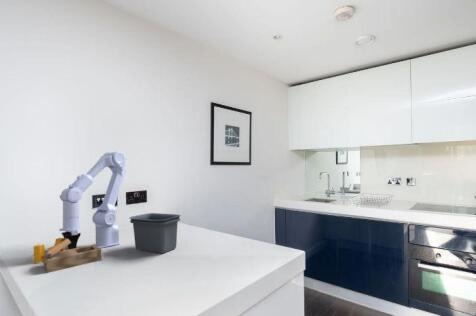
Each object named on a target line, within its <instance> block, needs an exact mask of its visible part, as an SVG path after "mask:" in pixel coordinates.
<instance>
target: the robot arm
mask: <svg viewBox="0 0 476 316" xmlns="http://www.w3.org/2000/svg"><path fill="white" fill-rule="evenodd" d="M126 161H127V157H126V155H125V154H124V153H123V152H122V151H113V152H105V153H103V155H102V156H100V157H99V159H98V160H97V161H96V162H95V164H94V165H93V166H92V167H91V168H90V169H89V170H88V171H87V172H86V174H81V175H77V177H76V180H75V181H74V182H73V183H72V184H69V185H68V188H65V189H63V190H62V191H61V193H60V195H59V199H60V200H61V202H62V228H59V229H58V230H59V232H61V235H62V238H64V239H65V238H66V239H69V240H70V242H71V243H70V244H68V249H74V248H76V246H77V247H78V245H77V244H78V242H79V239H80V237H81V235H82V234H81V232H78V231H79V229H80V227H81V226H80V200H81V199H82V198H83V194H84V192H86V190H87V189H88V188H89V187H90V186H91V185H93V183H94V181H93V179H95V177H96V176H97V175H99V173H100V172H102V171H103V170H104V169H105V168H107V167H108V169H110V171H111V173H112V174H111V177H110V180H109V182H108V186H107V188H106V191H105V194H104V198H103V200H102V204H100V205H99V206H98V207H97V209H96V211H95V212H94V213H93V215H92V218H91V219H92V223H94V225H95V243H93V244H92V245H96V246H97V247H98V248H100V249H103V248H107V247H112V246H117V245H120V233H119V232H120V230H119V225H118V224H115V223H116V220H117V208H116V207H115V205H116V202H117V199H118V196H119V194H120V190H121V187H122V184H123V181H124V177H125V175H126Z"/></svg>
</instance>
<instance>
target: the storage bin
mask: <svg viewBox="0 0 476 316" xmlns="http://www.w3.org/2000/svg"><path fill="white" fill-rule="evenodd" d="M178 222H181V214H176V213H175V214H173V213H157V212H156V213H155V212H152V213H151V212H149V213H144V214H139V215H133V216H129V223H130V224H132V227H133V236H134V246H135V249H136V250H139V251H145V252H146V251H147V252H153V253H158V254H164V253H167V252H170V251H171V250H174V249H176V248H177V238H178V236H177V235H178Z"/></svg>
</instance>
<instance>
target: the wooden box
mask: <svg viewBox="0 0 476 316" xmlns="http://www.w3.org/2000/svg"><path fill="white" fill-rule="evenodd" d="M48 251H49V250H48ZM48 251H45V253H46V252H48ZM100 261H102V248H98V247H97V246H96V245H93V244H89V245H86V246H85V245H84V246H81V247H80V246H79V247H77V248H74V249H69V250H64V251H59V252H57V253H55V254H54V255H52V256H51V254H47V257H46V255H45V254H44V261H43V266H44V268H45V270H46V273H51V272H52V273H53V272H56V271H61V270H64V269H69V268H73V267H77V266H82V265H85V264H90V263H96V262H100Z"/></svg>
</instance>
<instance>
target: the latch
mask: <svg viewBox="0 0 476 316" xmlns="http://www.w3.org/2000/svg"><path fill="white" fill-rule="evenodd" d="M70 243H71V242H70V240H69V239H66V240H65V241H63V242H62V243H60V244H59V245H57V246H56V247H54V248H53V249H51V250H50V251H48V252H46V253H45V255H46V257H47V254H51V256H52V255H54V254H55V253H57V252H58V251H60V250H61V249H62V248H64V247H65V246H67V245H68V244H70Z"/></svg>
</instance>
